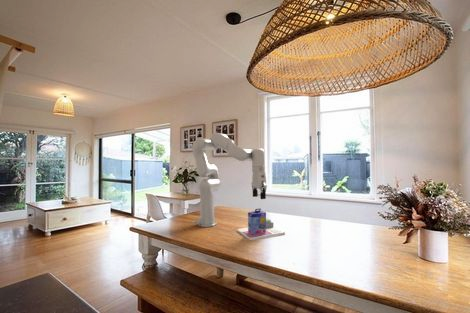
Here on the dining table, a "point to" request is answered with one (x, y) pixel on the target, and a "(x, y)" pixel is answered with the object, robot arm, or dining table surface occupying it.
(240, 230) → the picture board
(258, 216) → the ink cartridge box
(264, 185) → the robot arm
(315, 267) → the dining table surface
